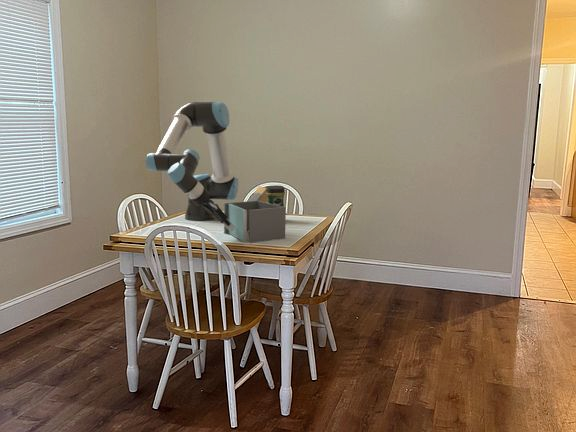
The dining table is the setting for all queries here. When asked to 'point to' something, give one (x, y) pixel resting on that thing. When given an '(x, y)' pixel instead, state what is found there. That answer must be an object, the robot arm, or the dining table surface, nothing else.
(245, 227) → the side door
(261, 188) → the sandwich container
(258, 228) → the charcoal box
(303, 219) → the dining table surface
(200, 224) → the dining table surface
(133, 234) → the dining table surface
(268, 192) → the coffee jar
